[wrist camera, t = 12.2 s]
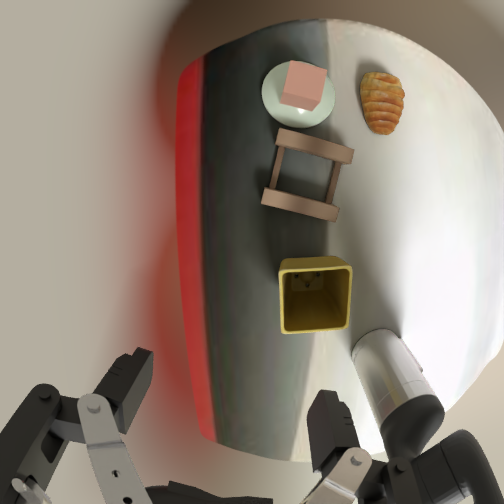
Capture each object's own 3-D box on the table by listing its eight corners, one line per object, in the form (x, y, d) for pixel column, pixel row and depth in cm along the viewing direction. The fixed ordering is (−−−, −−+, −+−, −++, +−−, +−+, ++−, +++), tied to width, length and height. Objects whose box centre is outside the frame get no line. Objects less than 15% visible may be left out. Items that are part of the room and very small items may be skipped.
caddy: (347, 150, 36) (354, 149, 33) (329, 218, 39) (335, 222, 36) (278, 131, 36) (279, 127, 33) (261, 200, 39) (261, 203, 36)
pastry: (397, 139, 35) (409, 137, 32) (356, 131, 36) (365, 127, 32) (398, 82, 33) (409, 76, 29) (357, 72, 33) (366, 64, 29)
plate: (339, 74, 33) (340, 72, 32) (325, 136, 36) (327, 136, 35) (270, 56, 33) (270, 54, 32) (254, 118, 36) (254, 117, 35)
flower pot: (277, 303, 43) (280, 335, 34) (275, 248, 41) (278, 270, 32) (333, 299, 43) (348, 329, 34) (335, 244, 40) (353, 265, 32)
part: (318, 83, 33) (327, 69, 27) (311, 111, 34) (320, 101, 28) (286, 75, 33) (290, 60, 27) (279, 103, 34) (282, 91, 28)
